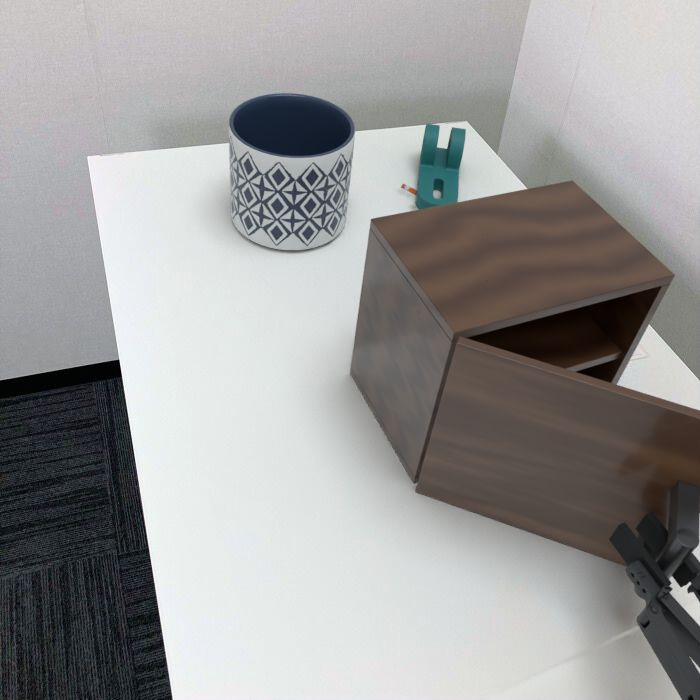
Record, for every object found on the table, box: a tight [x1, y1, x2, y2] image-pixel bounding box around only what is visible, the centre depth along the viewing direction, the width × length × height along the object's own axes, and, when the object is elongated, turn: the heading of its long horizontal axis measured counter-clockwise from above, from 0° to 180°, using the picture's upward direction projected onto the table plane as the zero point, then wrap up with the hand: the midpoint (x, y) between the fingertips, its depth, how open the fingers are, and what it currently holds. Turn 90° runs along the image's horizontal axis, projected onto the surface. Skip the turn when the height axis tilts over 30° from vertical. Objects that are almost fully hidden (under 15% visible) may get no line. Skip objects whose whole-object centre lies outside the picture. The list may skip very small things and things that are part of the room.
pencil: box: [401, 183, 417, 195], centre depth 123 cm, size 1×18×1 cm, turn 52°
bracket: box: [415, 123, 467, 210], centre depth 124 cm, size 18×7×8 cm, turn 173°
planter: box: [228, 92, 356, 251], centre depth 111 cm, size 18×18×16 cm
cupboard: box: [349, 179, 676, 484], centre depth 85 cm, size 18×26×24 cm
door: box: [415, 336, 700, 601], centre depth 70 cm, size 8×26×24 cm, turn 70°
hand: (630, 525), depth 70 cm, fingers open, 3 cm apart
